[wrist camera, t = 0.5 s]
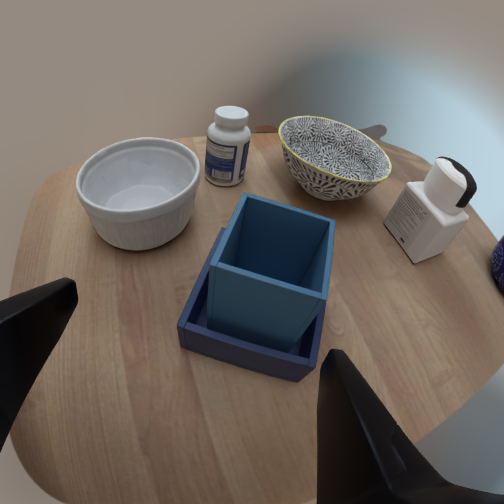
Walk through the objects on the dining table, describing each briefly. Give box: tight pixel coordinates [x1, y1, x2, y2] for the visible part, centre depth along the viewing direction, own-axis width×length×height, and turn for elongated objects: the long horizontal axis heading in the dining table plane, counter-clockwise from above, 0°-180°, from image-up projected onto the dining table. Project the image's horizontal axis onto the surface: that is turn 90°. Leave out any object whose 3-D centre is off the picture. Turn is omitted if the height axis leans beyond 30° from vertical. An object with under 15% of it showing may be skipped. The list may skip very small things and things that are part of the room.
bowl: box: [278, 116, 391, 201], centre depth 38 cm, size 16×16×8 cm
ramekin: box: [76, 138, 200, 250], centre depth 30 cm, size 13×13×7 cm
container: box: [384, 157, 477, 263], centre depth 33 cm, size 8×8×13 cm
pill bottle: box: [205, 106, 251, 186], centre depth 36 cm, size 5×5×10 cm
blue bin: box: [207, 192, 335, 353], centre depth 23 cm, size 7×7×10 cm
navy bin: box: [177, 227, 326, 382], centre depth 25 cm, size 10×10×4 cm
